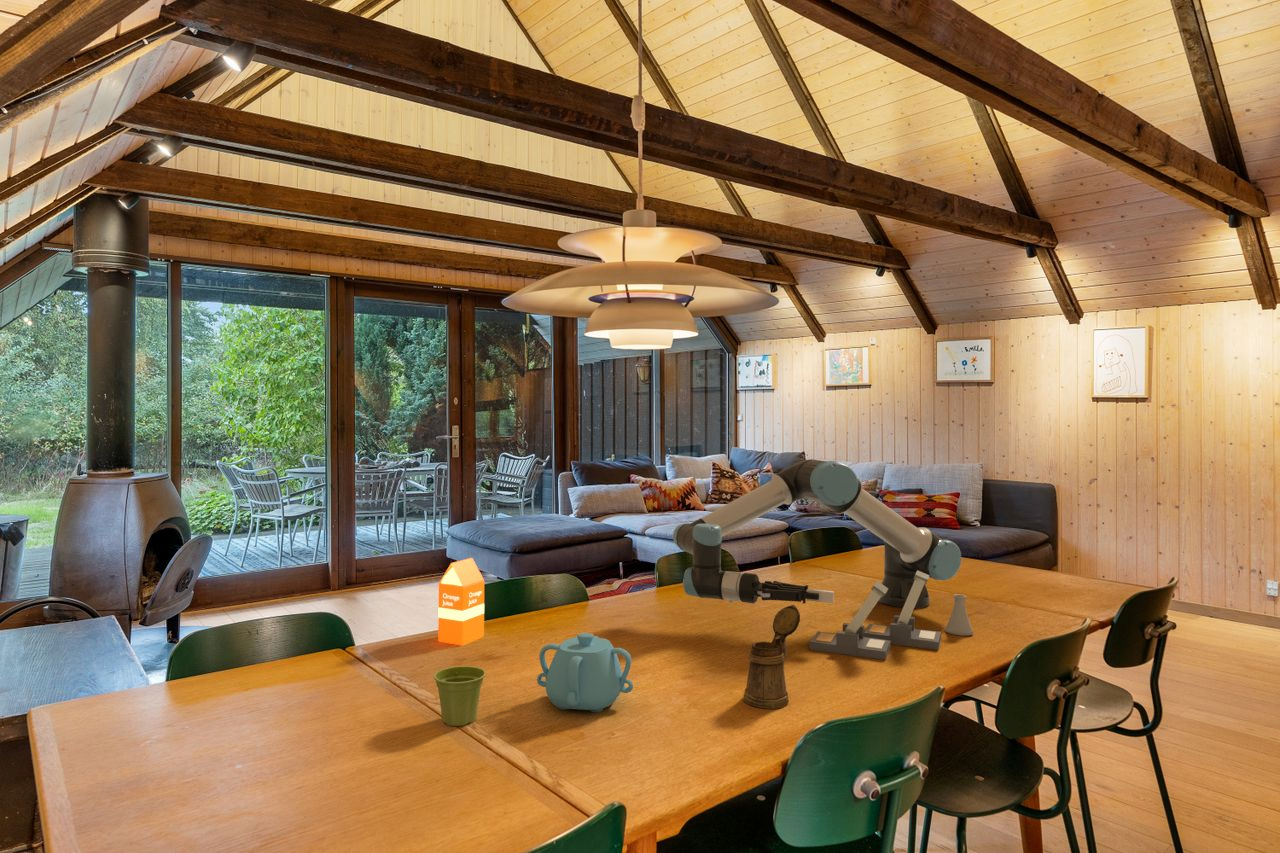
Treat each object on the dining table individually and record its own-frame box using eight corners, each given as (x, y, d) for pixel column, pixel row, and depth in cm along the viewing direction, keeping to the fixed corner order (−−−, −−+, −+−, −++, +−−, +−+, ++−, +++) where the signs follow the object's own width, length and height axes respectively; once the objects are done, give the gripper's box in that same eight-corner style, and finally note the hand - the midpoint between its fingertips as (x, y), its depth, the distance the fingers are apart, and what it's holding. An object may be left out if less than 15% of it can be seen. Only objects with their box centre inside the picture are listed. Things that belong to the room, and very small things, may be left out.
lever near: (840, 633, 187) (873, 585, 183) (844, 627, 192) (877, 580, 189) (851, 642, 186) (885, 593, 182) (855, 635, 191) (888, 588, 188)
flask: (968, 629, 208) (969, 593, 208) (977, 637, 200) (978, 599, 200) (941, 628, 208) (941, 592, 208) (949, 636, 201) (949, 598, 201)
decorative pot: (639, 710, 148) (641, 640, 148) (562, 724, 140) (563, 650, 140) (603, 683, 162) (605, 620, 162) (532, 695, 155) (533, 628, 155)
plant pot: (438, 710, 146) (438, 665, 146) (488, 709, 147) (488, 665, 147) (428, 731, 137) (429, 682, 137) (482, 729, 138) (482, 682, 137)
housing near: (809, 649, 188) (809, 629, 188) (817, 638, 197) (818, 619, 197) (885, 660, 180) (885, 639, 180) (890, 648, 189) (891, 628, 189)
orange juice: (484, 636, 196) (485, 558, 195) (462, 645, 188) (463, 564, 187) (459, 632, 199) (460, 556, 199) (437, 641, 191) (438, 561, 191)
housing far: (863, 640, 196) (863, 621, 196) (869, 630, 205) (869, 612, 205) (938, 650, 188) (938, 630, 188) (940, 639, 198) (941, 620, 198)
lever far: (893, 626, 195) (915, 574, 193) (896, 621, 200) (917, 570, 198) (905, 632, 194) (927, 579, 191) (908, 626, 199) (929, 575, 197)
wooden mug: (811, 696, 156) (812, 608, 156) (769, 712, 147) (771, 619, 147) (776, 684, 163) (777, 600, 163) (734, 699, 154) (735, 610, 154)
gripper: (748, 596, 206) (837, 606, 196) (733, 607, 194) (828, 618, 184) (748, 568, 205) (838, 577, 196) (734, 577, 194) (828, 587, 184)
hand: (833, 597), depth 190 cm, fingers closed
